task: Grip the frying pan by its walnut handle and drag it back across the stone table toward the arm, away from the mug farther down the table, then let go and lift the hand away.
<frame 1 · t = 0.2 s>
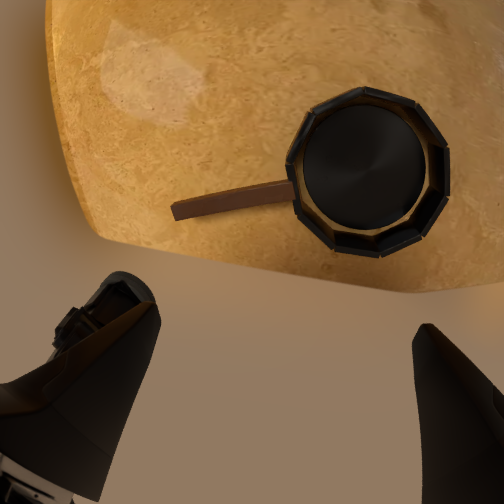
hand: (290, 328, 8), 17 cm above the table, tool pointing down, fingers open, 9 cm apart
frying pan: (366, 168, 21), on the table
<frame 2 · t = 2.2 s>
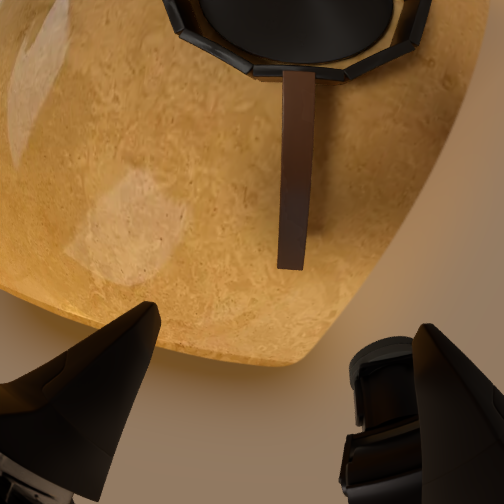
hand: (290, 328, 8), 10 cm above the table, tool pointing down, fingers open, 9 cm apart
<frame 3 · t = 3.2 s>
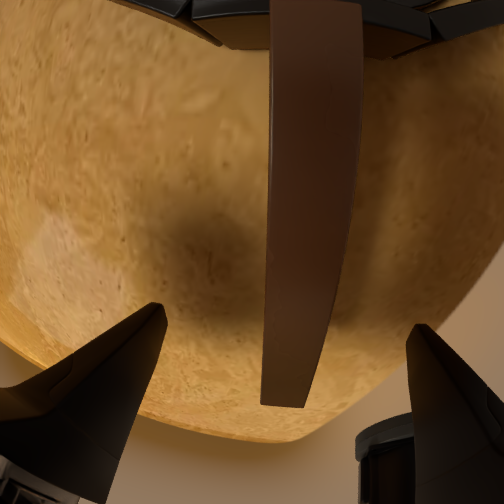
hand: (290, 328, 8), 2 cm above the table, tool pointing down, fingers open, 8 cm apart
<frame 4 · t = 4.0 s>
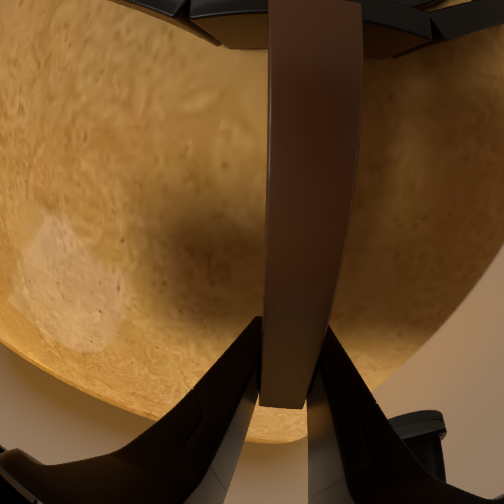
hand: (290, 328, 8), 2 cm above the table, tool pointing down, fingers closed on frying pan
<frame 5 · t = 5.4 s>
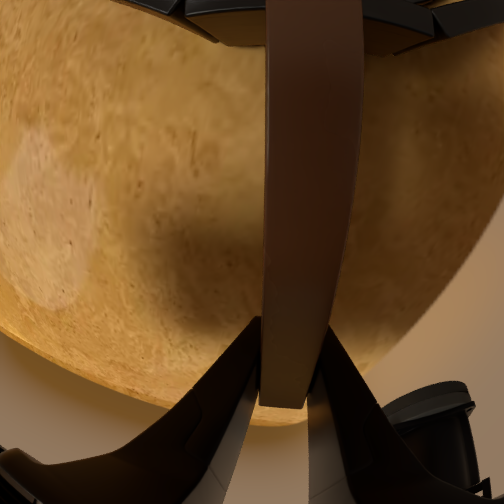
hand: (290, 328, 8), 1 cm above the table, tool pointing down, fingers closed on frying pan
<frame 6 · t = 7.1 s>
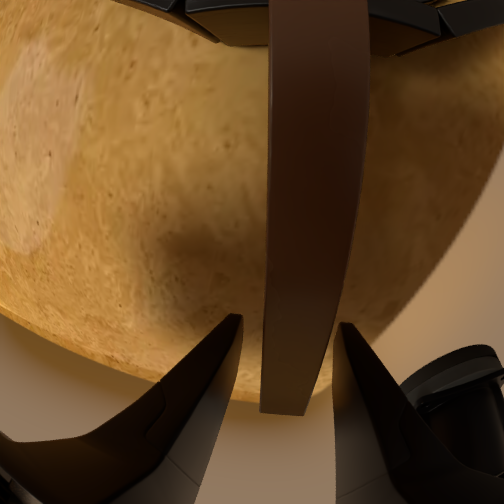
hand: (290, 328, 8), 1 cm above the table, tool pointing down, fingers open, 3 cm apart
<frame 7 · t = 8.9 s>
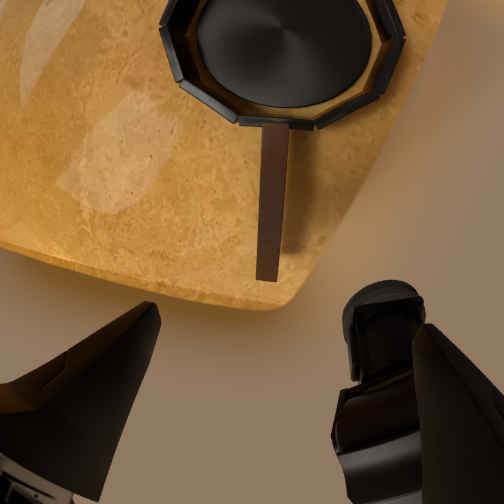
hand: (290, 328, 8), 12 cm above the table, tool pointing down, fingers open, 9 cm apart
frying pan: (283, 30, 13), on the table
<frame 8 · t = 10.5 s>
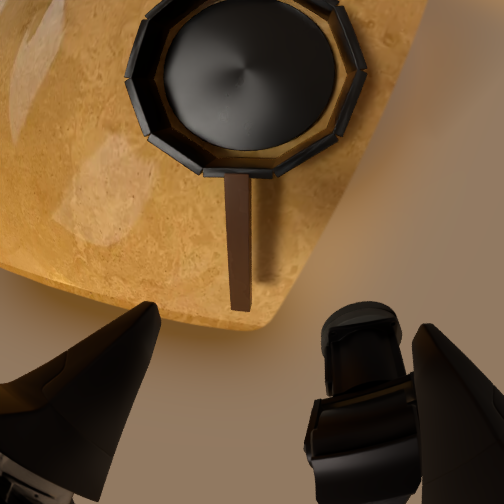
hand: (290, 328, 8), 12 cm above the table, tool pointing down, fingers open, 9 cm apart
frying pan: (246, 69, 15), on the table
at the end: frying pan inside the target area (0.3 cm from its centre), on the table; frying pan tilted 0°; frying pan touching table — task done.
